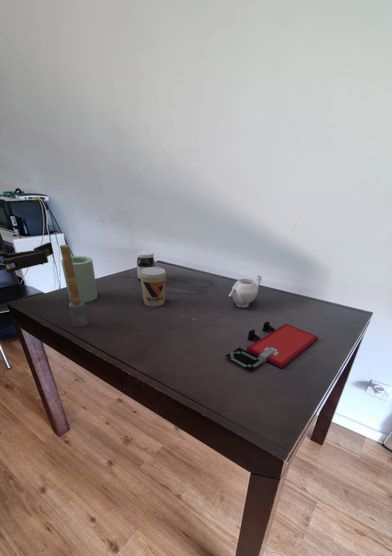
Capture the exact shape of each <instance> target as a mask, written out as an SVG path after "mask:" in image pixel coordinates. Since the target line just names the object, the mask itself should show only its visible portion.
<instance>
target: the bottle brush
mask: <svg viewBox="0 0 392 556" xmlns="http://www.w3.org/2000/svg"><path fill="white" fill-rule="evenodd" d="M59 248H60V253H61V260H62V259H63V263H64V268H65V273H66V278H67V282H68V287H69V292H70V297H71V300H70V302H69V303H68V308H69V313H70V318H71V322H72V326H73V327H74V328H84V327H86V326H87V325H88V324H89V322H88V317H87V312H86V307H85V302H82V301H80V298H79V293H78V288H77V282H76V277H75V272H74V267H73V262H72V257H73V256H72V252H71V246H70V245H69V244H61V245H59Z"/></svg>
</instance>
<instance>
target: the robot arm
mask: <svg viewBox="0 0 392 556" xmlns="http://www.w3.org/2000/svg"><path fill="white" fill-rule="evenodd" d="M53 254H54V249H53V245H52V242H45V243H44V244H40V245H39V246H36V247H34V248H33V249H32V250H26V251H19V252H10V253H6V252H5V251H4V248H3V245H2V242H1V241H0V271H5V272H6V273H7V274H10V273H11V274H12V273H14V272H16V271H18V270H24V269H27V268H32V267H35V266H40V265H44V264H48V263H49V259H48V257H50V256H52V255H53ZM1 257H2V258H3V260H2V258H1Z"/></svg>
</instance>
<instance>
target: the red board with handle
mask: <svg viewBox="0 0 392 556" xmlns="http://www.w3.org/2000/svg"><path fill="white" fill-rule="evenodd" d="M270 324H271V323H270V321H268V320H267V321H265V322H263V327H262V332H267V331H270V332H269V333H268V334H266V335H265V336H264V337H262V338H261V337H260V336H259V335H257V334H256V330H255V329H253V328H252V329H251V330H248V334H247V341H252V340H255V342H254V343H252V344H250V345H249V346H246V350H245V349H243V348H242V347H238V348H236V349H234V350H233V351H231V352H229V353H228V354H226V355H225V358H228V359H230V360H231V361H232V362H235V363H237V364H238V365H240V366H242V367H243V368H246V369H247V370H249V371H252V370H253V369H255V368H256V367H258V366H259V365H261V364H266V363H267V362H269V363H270V364H272V365H274V366H276V367H278V368H280V369H283V368H285V366H288V364H289V363H291V362H292V361H293V360H294V359H296V358H297V357H298V356H299V355H300V354H302V353H303V352H304V351H305V350H307V349H308V348H309V347H310V346H311V345H313V344H314V343H316V342H317V341H318V340H319V336H317V335H315V334H312V333H310V332H307V331H305V330H303V329H300V328H298V327H296V326H293V325H290V324H287V323H285V324H283V325H281V326H279V327H278V328H276V329H275V328H274V327H273V326H271V325H270Z"/></svg>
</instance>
